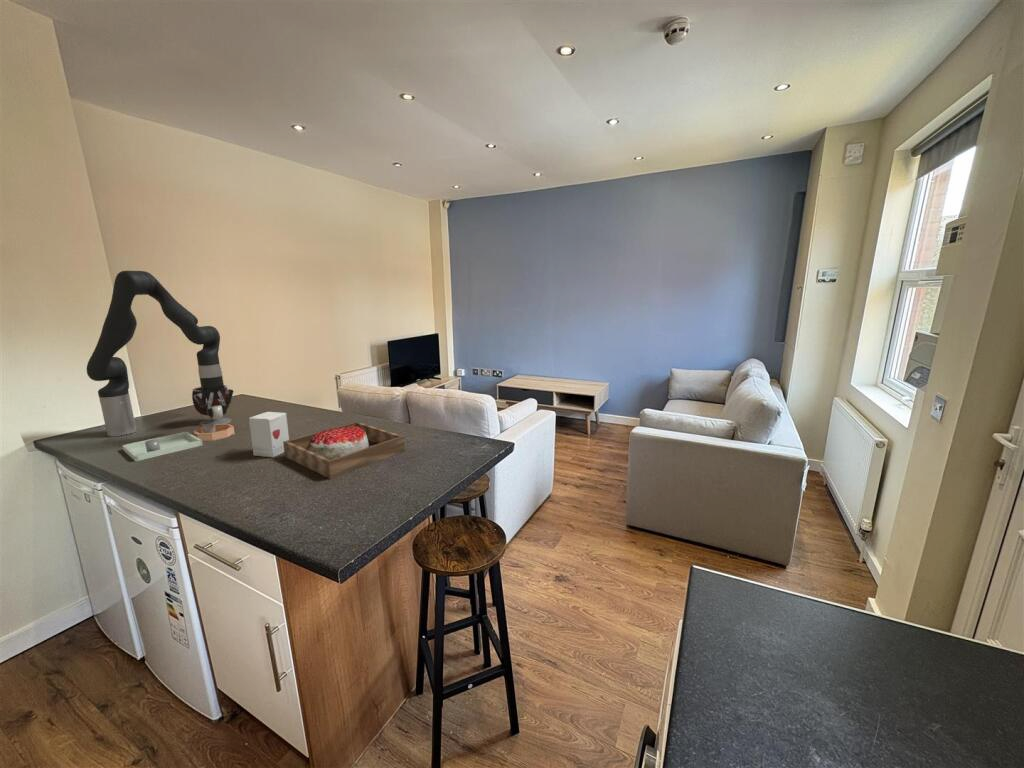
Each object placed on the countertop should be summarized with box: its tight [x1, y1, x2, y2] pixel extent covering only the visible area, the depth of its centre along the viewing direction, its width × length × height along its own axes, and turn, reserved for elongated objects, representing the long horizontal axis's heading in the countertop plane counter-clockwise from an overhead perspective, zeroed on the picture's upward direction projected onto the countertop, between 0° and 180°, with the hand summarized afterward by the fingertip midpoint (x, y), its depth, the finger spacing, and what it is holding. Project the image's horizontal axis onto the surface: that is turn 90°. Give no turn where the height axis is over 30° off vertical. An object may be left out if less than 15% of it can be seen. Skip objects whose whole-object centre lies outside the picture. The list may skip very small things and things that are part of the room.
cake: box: [307, 426, 370, 460], centre depth 151 cm, size 23×24×10 cm
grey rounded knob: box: [145, 439, 160, 452], centre depth 149 cm, size 4×4×5 cm
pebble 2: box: [202, 423, 215, 433], centre depth 169 cm, size 4×4×5 cm
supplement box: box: [248, 411, 290, 458], centre depth 152 cm, size 9×9×15 cm
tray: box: [121, 431, 204, 462], centre depth 155 cm, size 18×20×3 cm
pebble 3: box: [211, 405, 224, 419], centre depth 167 cm, size 4×4×5 cm
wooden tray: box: [283, 421, 406, 480], centre depth 152 cm, size 31×30×6 cm
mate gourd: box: [191, 384, 232, 428], centre depth 187 cm, size 16×14×20 cm
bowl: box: [192, 423, 235, 442], centre depth 169 cm, size 13×13×4 cm
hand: (217, 415), depth 167 cm, fingers closed on pebble 3, 3 cm apart
